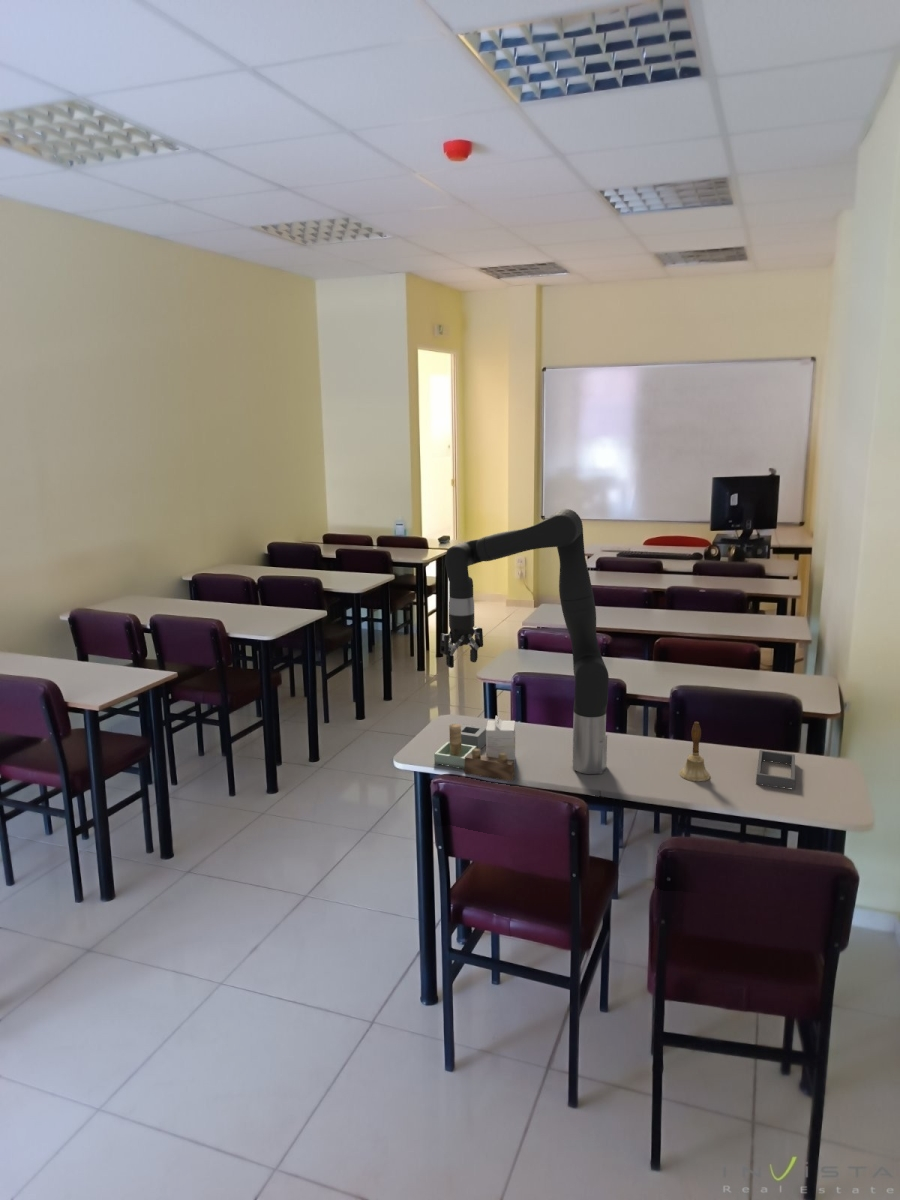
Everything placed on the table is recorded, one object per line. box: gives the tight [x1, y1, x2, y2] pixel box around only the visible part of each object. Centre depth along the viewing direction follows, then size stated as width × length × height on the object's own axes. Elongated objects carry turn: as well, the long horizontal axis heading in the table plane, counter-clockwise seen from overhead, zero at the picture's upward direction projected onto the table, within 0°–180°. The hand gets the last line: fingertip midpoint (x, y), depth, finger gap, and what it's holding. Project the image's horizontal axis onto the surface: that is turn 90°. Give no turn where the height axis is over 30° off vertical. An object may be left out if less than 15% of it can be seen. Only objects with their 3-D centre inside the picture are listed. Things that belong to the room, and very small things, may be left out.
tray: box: [433, 741, 477, 770], centre depth 237 cm, size 10×10×3 cm
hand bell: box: [679, 721, 711, 782], centre depth 224 cm, size 8×8×16 cm
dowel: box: [448, 723, 462, 757], centre depth 237 cm, size 3×3×10 cm
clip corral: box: [755, 749, 796, 790], centre depth 225 cm, size 10×18×3 cm, turn 157°
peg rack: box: [464, 749, 516, 782], centre depth 227 cm, size 14×3×7 cm, turn 67°
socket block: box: [461, 723, 487, 750], centre depth 248 cm, size 8×8×5 cm
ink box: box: [485, 715, 516, 762], centre depth 235 cm, size 9×8×13 cm
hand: (462, 664), depth 237 cm, fingers open, 8 cm apart
